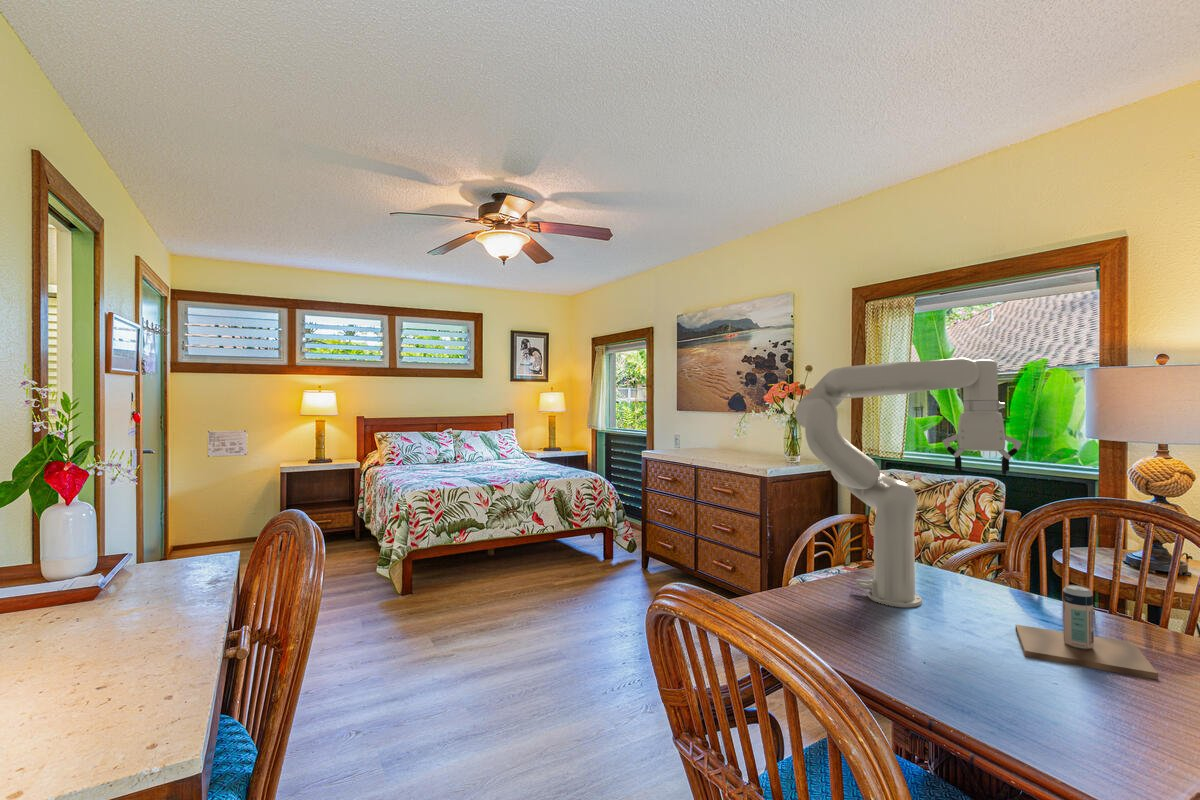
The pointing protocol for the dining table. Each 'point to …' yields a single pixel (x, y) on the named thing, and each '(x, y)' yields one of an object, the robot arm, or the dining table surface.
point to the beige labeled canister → (1078, 617)
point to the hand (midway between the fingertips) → (981, 473)
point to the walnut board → (1085, 652)
